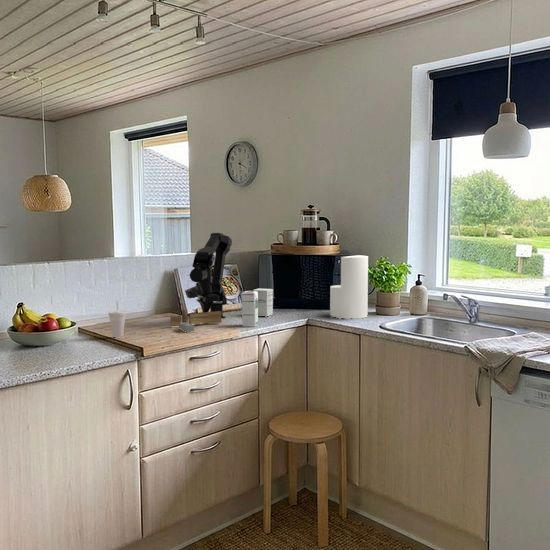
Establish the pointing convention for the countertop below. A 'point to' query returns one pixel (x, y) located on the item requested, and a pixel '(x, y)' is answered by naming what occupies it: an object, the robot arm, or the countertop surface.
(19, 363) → the countertop surface
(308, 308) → the countertop surface
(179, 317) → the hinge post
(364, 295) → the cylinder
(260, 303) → the supplement box
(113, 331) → the smoothie
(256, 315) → the white miniature cabinet
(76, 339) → the countertop surface
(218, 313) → the gate
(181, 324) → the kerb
